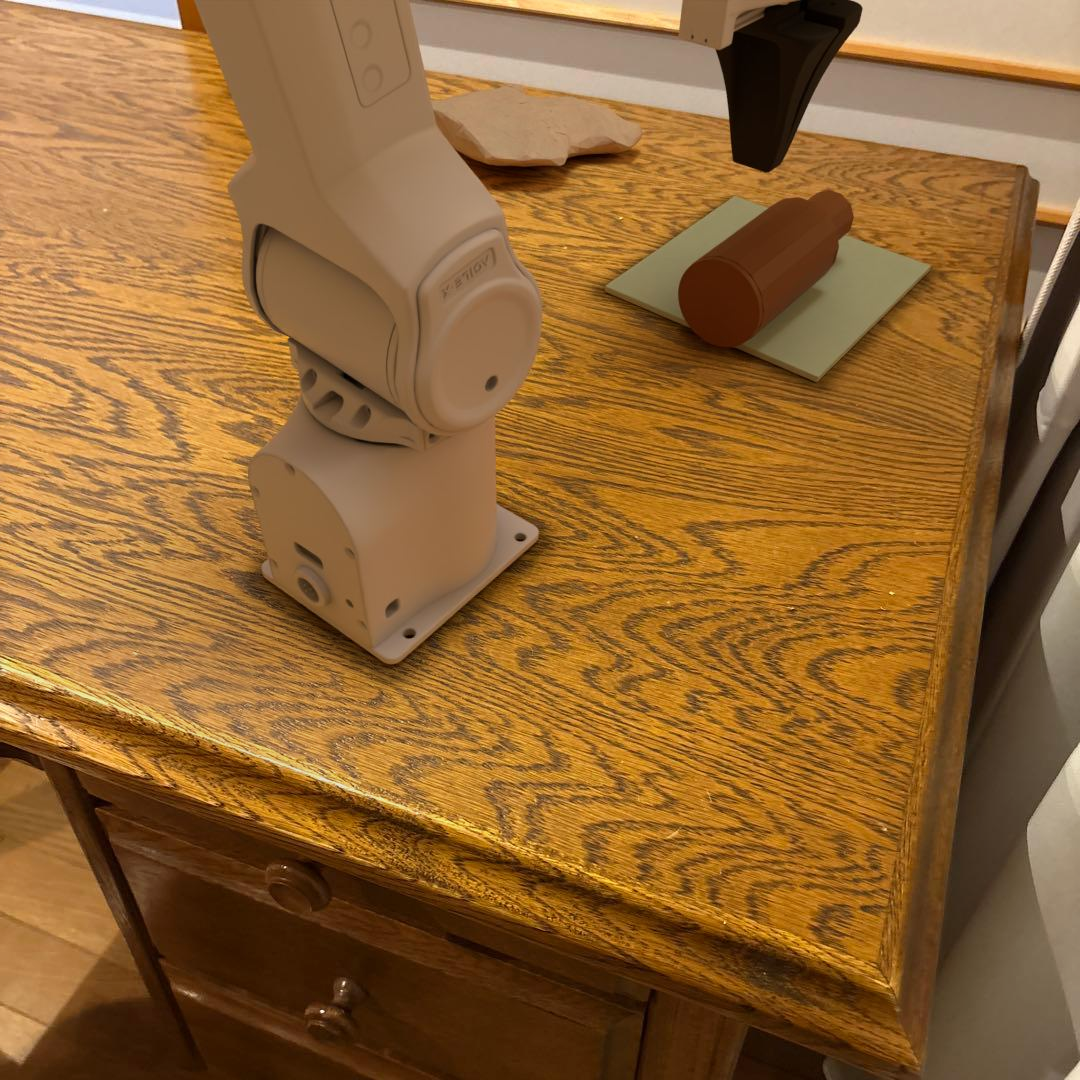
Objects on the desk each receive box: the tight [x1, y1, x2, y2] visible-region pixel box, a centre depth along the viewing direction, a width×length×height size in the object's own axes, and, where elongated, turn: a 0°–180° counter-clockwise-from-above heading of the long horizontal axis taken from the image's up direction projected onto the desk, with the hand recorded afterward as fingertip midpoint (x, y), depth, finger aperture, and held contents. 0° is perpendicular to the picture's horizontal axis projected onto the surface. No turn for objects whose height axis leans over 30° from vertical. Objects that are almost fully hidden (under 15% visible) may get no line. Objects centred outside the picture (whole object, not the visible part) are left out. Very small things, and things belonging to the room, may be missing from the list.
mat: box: [604, 195, 932, 383], centre depth 60 cm, size 15×14×1 cm
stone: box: [431, 83, 644, 168], centre depth 71 cm, size 14×4×15 cm
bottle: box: [678, 189, 855, 348], centre depth 56 cm, size 5×5×13 cm
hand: (756, 162), depth 48 cm, fingers closed
